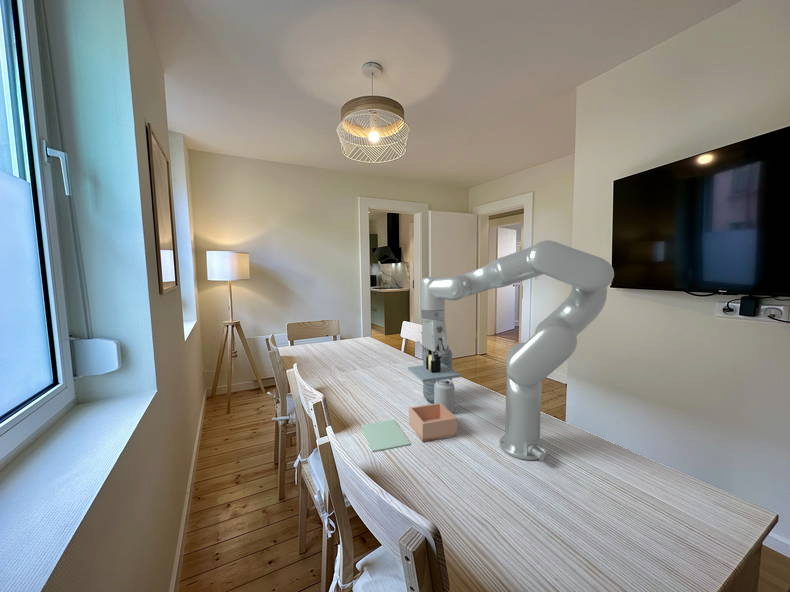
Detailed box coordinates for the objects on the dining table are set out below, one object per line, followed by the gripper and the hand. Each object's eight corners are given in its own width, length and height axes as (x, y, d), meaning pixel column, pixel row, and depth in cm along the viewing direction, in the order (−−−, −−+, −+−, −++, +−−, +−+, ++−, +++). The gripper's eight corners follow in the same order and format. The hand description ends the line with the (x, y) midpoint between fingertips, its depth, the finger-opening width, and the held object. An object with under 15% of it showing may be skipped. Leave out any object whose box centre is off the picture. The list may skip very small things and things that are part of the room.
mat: (410, 444, 94) (410, 443, 94) (372, 452, 90) (372, 450, 90) (394, 420, 109) (394, 419, 109) (361, 426, 105) (361, 424, 105)
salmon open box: (457, 436, 99) (457, 418, 98) (422, 442, 95) (422, 423, 94) (440, 419, 110) (440, 402, 109) (409, 424, 106) (409, 407, 106)
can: (454, 417, 111) (454, 384, 111) (433, 415, 113) (433, 383, 112) (454, 408, 119) (454, 377, 118) (434, 406, 120) (435, 376, 119)
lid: (460, 377, 97) (460, 359, 96) (422, 382, 93) (422, 363, 92) (442, 365, 109) (442, 349, 108) (407, 369, 105) (407, 352, 104)
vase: (450, 395, 131) (451, 342, 129) (452, 407, 120) (453, 349, 118) (423, 394, 132) (423, 341, 131) (423, 405, 121) (423, 348, 119)
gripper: (455, 317, 93) (455, 377, 94) (432, 311, 108) (433, 362, 110) (433, 319, 90) (433, 380, 92) (413, 312, 106) (413, 364, 107)
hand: (433, 370), depth 101 cm, fingers closed on lid, 3 cm apart
